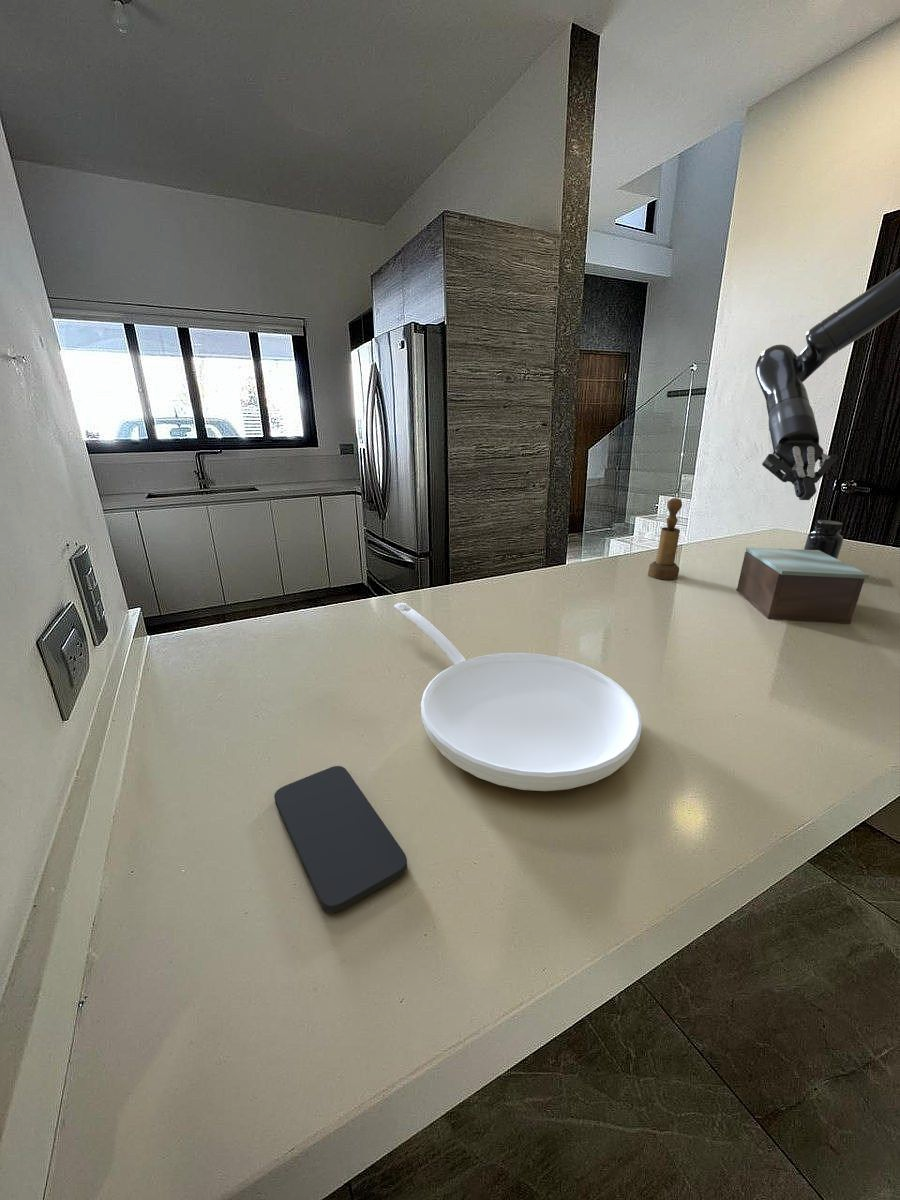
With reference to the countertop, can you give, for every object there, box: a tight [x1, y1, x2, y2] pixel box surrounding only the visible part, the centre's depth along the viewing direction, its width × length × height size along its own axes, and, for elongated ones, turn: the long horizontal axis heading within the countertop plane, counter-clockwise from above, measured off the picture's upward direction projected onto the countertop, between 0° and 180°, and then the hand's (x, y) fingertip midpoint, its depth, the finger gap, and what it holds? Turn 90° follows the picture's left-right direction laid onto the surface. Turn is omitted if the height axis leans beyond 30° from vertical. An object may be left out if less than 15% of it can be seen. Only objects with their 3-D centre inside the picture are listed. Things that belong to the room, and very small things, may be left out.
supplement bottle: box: [803, 519, 844, 559], centre depth 113 cm, size 7×7×12 cm
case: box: [736, 550, 865, 624], centre depth 93 cm, size 16×14×9 cm
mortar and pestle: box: [647, 497, 683, 581], centre depth 109 cm, size 7×6×18 cm
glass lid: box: [745, 547, 870, 580], centre depth 91 cm, size 16×14×1 cm
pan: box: [392, 602, 643, 792], centre depth 63 cm, size 25×44×6 cm, turn 34°
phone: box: [273, 765, 408, 913], centre depth 43 cm, size 7×1×15 cm
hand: (807, 497), depth 90 cm, fingers closed
